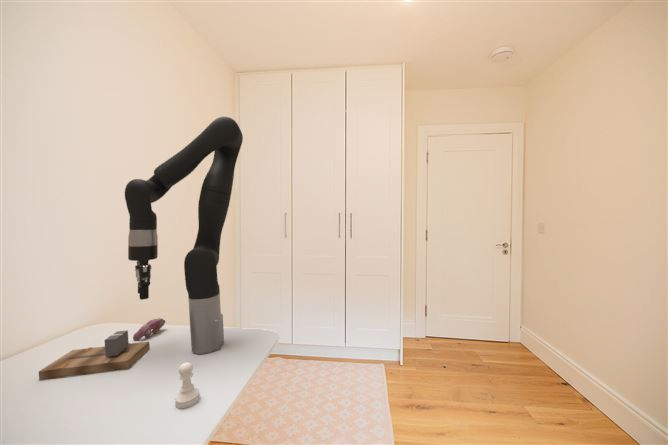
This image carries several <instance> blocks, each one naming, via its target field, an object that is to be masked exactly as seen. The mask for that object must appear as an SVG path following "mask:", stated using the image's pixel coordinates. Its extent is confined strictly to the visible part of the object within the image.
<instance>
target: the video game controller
mask: <svg viewBox="0 0 668 445" xmlns="http://www.w3.org/2000/svg"><path fill="white" fill-rule="evenodd" d="M165 324H166V320H164V319H163V318H160V317H157V318H154V319H151V320H148V322H147V323H144V324H143V325H142V326H140V327H139V329H138V330H137V331H136V332H135V333H134V334H133V336H132V338H133V341H139V340H140V339H142V338H143V337H144V338H147V339H148V338H149V337H151V335H153V334H154V335H155V333H156V334H157V333H158V332H159V331H160V329H161V328H162V327H163V326H164V325H165Z"/></svg>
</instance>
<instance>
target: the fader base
mask: <svg viewBox="0 0 668 445" xmlns="http://www.w3.org/2000/svg"><path fill="white" fill-rule="evenodd" d="M150 346H151V345H150V341H142V342H132V343H129V346H128V347H127V348H126V349H125V350H123V351H122V352H121V353H120V354H118V355H117V356H109V357H106V355H105V345H104V346H98V347H97V346H96V347H87V348H80V349H72V350H70V351H69V352H67V353H65V354H64V355H62V356H61V357H59V358H57V359H56V360H55V361H53V362H51V363H50V364H48V365H46V366H44V367H43V368H42V369H40V370H38V380H39V381H45V380H44V379H46V380H52V379H53V380H55V379H63V378H70V377H77V376H84V375H93V374H99V373H109V371H110V372H116V371H117V370H118V371H125V370H130V369H131V368H132V367H133V366H134V365H135V364H136V363H137V362H138V361H139V360H140V359H141V358H142V357H143V356H145V354H147V352H148V351H149V350H150V348H151V347H150Z"/></svg>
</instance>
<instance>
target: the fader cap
mask: <svg viewBox="0 0 668 445" xmlns="http://www.w3.org/2000/svg"><path fill="white" fill-rule="evenodd" d="M104 346H105V355H106V357H109V356H117V355H118V354H120V353H121V352H122V351H123V350H125V349H126V348H127V347H128V346H129V330H127V329H126V330H120V331H115V332H114V333H113V334H110V336H108V337H107V338H105V339H104Z"/></svg>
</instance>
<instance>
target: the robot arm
mask: <svg viewBox="0 0 668 445" xmlns="http://www.w3.org/2000/svg"><path fill="white" fill-rule="evenodd" d="M243 135H244V134H243V133H242V129H241V128H240V125H239V124H238V123H237V122H236V120H235V119H233V118H231V117H229V116H220V117H216V119H214V120H213V121H212V122H210V123H209V125H207V126H206V128H205V129H203V131H202V132H201V133H200V134H198V135H197V136H196V137H195V138H194V139H193V140H192V141H191V142H190V143H188V144H187V145H186V146H185V147H183V148H182V149H181V150H180V151H179V152H177V153H175V154H174V155H173V156H171V157H169V158H168V159H167V160H166V161H163V162H162V163H161V164H159V165H158V166H157V167H155V169H154V171H153V175H152V176H151V177H150V178H148V179H147V180H144V179H142V178H136V179H132V180H129V182H127V184H126V186H125V188H124V199H125V203H126V209H127V211H128V216H129V225H128V226H129V230H128V237H127V238H128V241H127V242H128V244H127V246H128V247H127V249H128V250H127V251H128V253H127V258H128V260H129V261H131V262H132V261H133V262H134V261H135V262H136V265H135V266H134V271H135V278H136V282H137V294H138V295H139V300H148V299H149V296H150V294H149V292H150V290H149V288H150V285H151V279H152V278H151V277H152V273H151V272H152V265H151V264H149V261H151V260H153V261H154V260H156V259H157V258H158V255H159V254H158V248H159V246H158V241H159V240H158V239H159V238H158V218H157V214H156V212H154V210H153V208H152V204H153V203H155V202H157V201H159V200H160V199H161V198H162V197H164V196H165V195H166V194H167V193H168V192H169V191H170V190H171V189H172V187H173V186H175V185H177V184H178V183H179V182H181V181H183V180H184V179H185V178H186V177H188V176H189V175H190V174H191V173H193V172H194V171H195V170H196V168H198V166H200V164H201V163H202V162H203V160H204V159H205V158H207V157H208V156H210V155H211V154H212V153H213V152H214V153H213V159H212V162H211V165H210V168H209V170H208V171H207V172H206V175H205V177H204V179H203V181H202V184H201V187H200V191H199V192H200V194H199V199H198V208H197V209H198V213H197V214H198V217H197V218H198V219H197V220H198V229H197V235H196V238H195V242H194V246H193V248H192V249H191V250H189V251H188V253H186V255H185V257H184V262H183V263H184V266H183V268H184V269H183V270H184V280H185V288H186V291H187V292H186V293H187V294H188V295H187V296H188V310H189V312H188V313H189V328H190V330H189V332H190V346H191V352H192V353H193V354H196V355H205V354H209V353H213V352H215V351H220V350H221V349H222V347H223V345H224V343H225V334H224V333H225V332H224V331H225V330H224V317H223V313H222V312H221V296H220V292H221V291H220V285H219V281H218V268H217V266H218V265H219V261H220V249H221V248H220V247H221V238H222V232H223V228H224V225H225V221H226V219H227V216H228V211H229V207H230V202H231V198H232V197H231V196H232V192H233V183H234V178H235V169H236V164H237V160H238V158H239V154H240V150H241V148H242V144H243V141H244V140H243V139H244V138H243V137H244V136H243Z"/></svg>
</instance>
